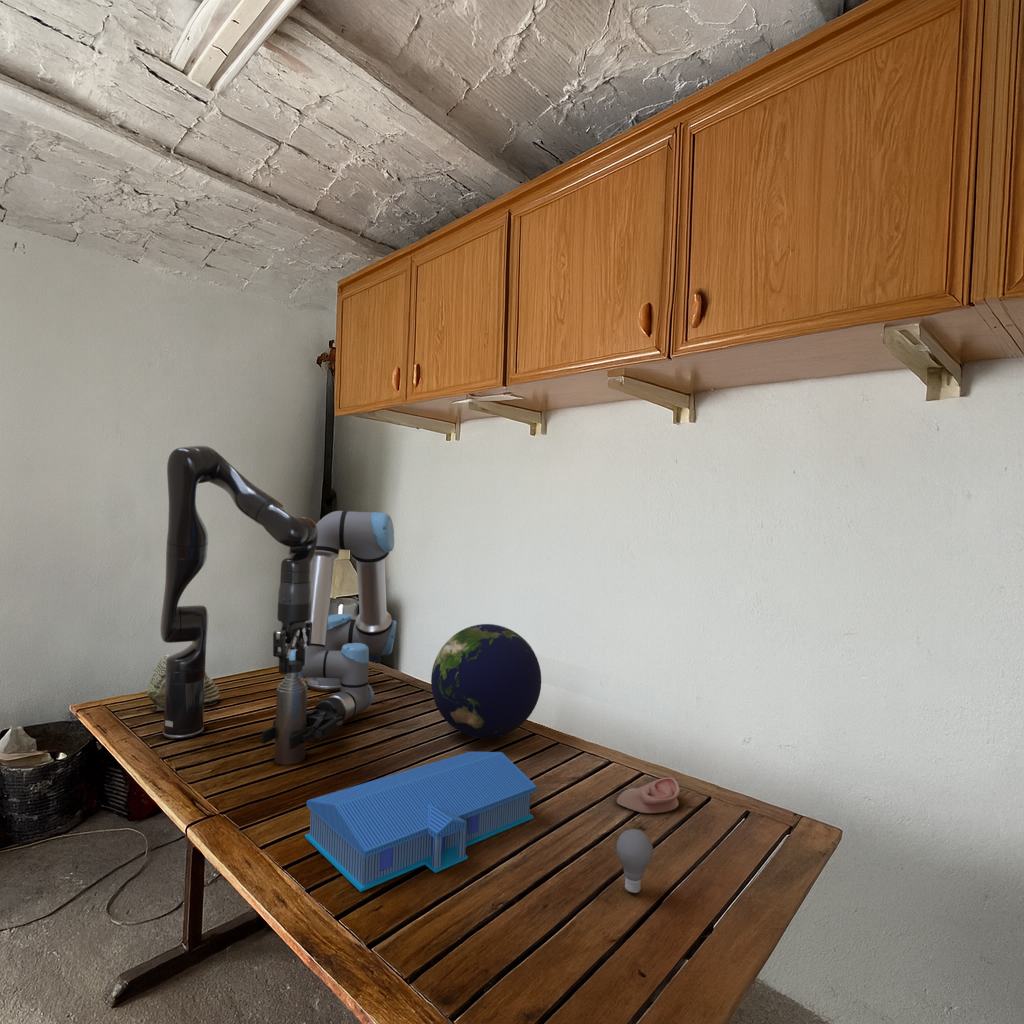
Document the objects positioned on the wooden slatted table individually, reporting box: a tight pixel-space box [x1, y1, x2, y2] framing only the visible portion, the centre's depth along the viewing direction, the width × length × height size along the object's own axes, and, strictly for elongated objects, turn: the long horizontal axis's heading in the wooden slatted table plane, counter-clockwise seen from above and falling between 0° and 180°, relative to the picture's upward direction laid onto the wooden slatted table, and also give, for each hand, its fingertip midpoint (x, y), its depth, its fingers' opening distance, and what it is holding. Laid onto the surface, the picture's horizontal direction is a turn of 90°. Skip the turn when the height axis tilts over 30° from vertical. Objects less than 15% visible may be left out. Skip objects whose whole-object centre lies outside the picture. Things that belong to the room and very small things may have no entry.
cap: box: [289, 660, 302, 673], centre depth 152 cm, size 4×4×2 cm
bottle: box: [273, 672, 309, 766], centre depth 152 cm, size 7×7×22 cm
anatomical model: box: [616, 776, 681, 814], centre depth 138 cm, size 13×4×12 cm
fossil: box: [147, 654, 221, 712], centre depth 185 cm, size 9×18×15 cm, turn 132°
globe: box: [430, 623, 542, 739], centre depth 172 cm, size 30×30×30 cm
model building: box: [304, 751, 538, 893], centre depth 122 cm, size 39×24×10 cm, turn 132°
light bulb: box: [615, 828, 654, 894], centre depth 106 cm, size 6×6×10 cm
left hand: (292, 669), depth 151 cm, fingers open, 6 cm apart
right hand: (276, 740), depth 147 cm, fingers closed on bottle, 7 cm apart
